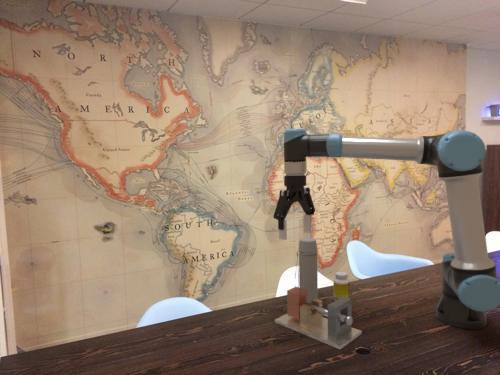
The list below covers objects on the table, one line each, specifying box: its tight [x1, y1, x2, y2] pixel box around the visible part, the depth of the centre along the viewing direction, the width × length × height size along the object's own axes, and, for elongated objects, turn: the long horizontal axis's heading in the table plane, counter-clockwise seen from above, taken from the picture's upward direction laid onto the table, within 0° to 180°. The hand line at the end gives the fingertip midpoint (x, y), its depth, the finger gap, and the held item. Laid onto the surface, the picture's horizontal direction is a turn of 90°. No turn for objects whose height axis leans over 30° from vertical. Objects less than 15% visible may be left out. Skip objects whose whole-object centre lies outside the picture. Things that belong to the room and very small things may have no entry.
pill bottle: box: [332, 271, 350, 301], centre depth 141 cm, size 6×6×11 cm
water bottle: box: [294, 237, 319, 304], centre depth 140 cm, size 9×8×25 cm
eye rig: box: [274, 296, 363, 350], centre depth 118 cm, size 26×13×12 cm, turn 45°
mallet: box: [286, 286, 354, 325], centre depth 117 cm, size 24×5×9 cm, turn 45°
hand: (295, 235), depth 122 cm, fingers open, 13 cm apart
